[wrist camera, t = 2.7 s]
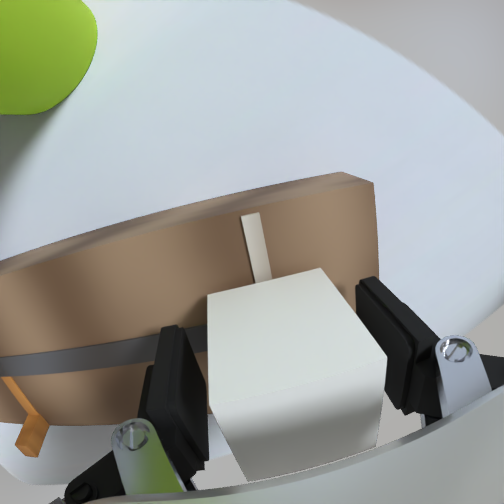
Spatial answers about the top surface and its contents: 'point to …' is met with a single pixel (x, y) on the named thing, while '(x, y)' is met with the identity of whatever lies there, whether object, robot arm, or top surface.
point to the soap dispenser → (43, 52)
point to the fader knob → (292, 374)
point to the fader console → (160, 292)
